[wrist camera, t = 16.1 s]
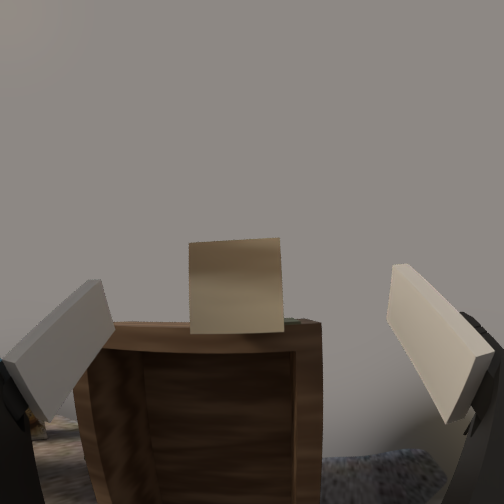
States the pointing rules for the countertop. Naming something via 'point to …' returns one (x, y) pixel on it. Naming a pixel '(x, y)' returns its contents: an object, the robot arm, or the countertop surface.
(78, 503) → the countertop surface
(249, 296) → the maple bar
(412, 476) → the countertop surface
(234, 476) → the walnut stand
